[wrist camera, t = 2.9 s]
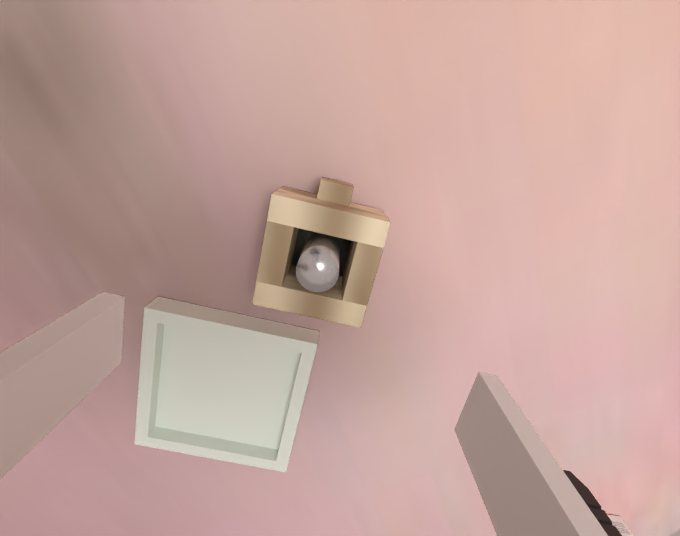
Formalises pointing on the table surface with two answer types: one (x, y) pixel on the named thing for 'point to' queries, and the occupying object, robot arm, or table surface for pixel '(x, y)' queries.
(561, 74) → the table surface
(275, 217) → the tan wooden frame
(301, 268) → the grey glass rounded piece
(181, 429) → the tray
